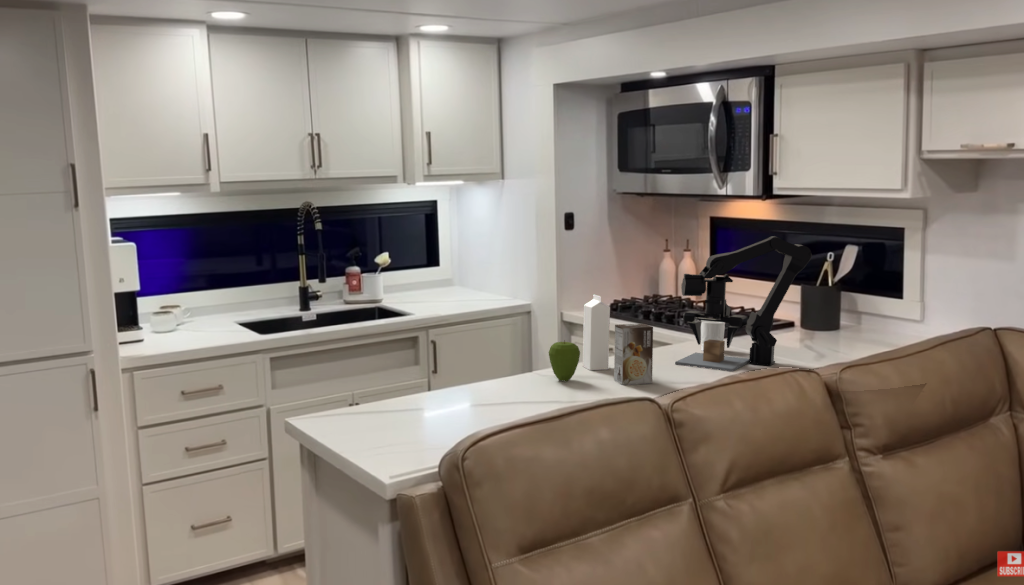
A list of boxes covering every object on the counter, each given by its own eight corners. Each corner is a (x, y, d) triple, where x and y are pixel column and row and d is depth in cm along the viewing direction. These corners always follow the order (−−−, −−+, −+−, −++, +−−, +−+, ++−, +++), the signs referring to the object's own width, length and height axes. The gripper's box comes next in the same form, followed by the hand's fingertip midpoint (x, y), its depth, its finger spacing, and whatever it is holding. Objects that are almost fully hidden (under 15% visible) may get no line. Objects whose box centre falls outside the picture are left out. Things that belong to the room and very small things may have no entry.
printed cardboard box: (643, 378, 249) (644, 323, 247) (652, 383, 243) (654, 326, 241) (613, 380, 246) (614, 324, 244) (621, 385, 240) (623, 327, 238)
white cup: (722, 349, 296) (723, 319, 294) (725, 353, 288) (726, 323, 287) (698, 348, 296) (699, 319, 295) (700, 352, 289) (702, 322, 287)
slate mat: (750, 361, 275) (750, 358, 275) (732, 371, 260) (732, 368, 260) (695, 354, 285) (695, 352, 285) (675, 364, 269) (675, 361, 269)
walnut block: (723, 359, 273) (724, 341, 272) (718, 362, 269) (719, 343, 268) (708, 358, 276) (709, 339, 275) (703, 360, 271) (703, 341, 271)
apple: (584, 379, 247) (585, 339, 246) (570, 385, 240) (571, 343, 239) (557, 375, 252) (557, 336, 250) (543, 381, 244) (543, 340, 243)
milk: (600, 365, 266) (602, 293, 264) (608, 369, 261) (610, 296, 258) (581, 366, 265) (584, 294, 262) (589, 370, 259) (591, 296, 256)
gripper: (753, 296, 272) (751, 345, 274) (695, 291, 281) (693, 339, 283) (742, 299, 262) (740, 351, 264) (683, 294, 272) (681, 344, 274)
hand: (713, 346), depth 272 cm, fingers open, 9 cm apart
